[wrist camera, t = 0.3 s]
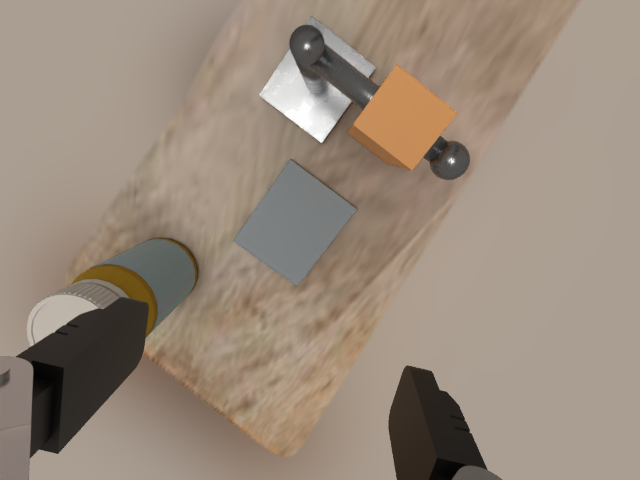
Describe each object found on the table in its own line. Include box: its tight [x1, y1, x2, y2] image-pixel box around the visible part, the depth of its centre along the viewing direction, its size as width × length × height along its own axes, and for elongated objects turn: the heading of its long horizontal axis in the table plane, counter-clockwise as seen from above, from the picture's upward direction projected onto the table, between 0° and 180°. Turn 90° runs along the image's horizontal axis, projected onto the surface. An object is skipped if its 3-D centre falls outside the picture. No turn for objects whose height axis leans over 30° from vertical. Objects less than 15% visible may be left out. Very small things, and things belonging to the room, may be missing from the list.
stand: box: [259, 16, 470, 180], centre depth 29 cm, size 8×16×14 cm, turn 53°
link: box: [347, 64, 457, 170], centre depth 27 cm, size 4×4×11 cm
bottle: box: [27, 238, 197, 346], centre depth 33 cm, size 7×7×15 cm
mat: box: [233, 160, 357, 286], centre depth 38 cm, size 10×8×1 cm
